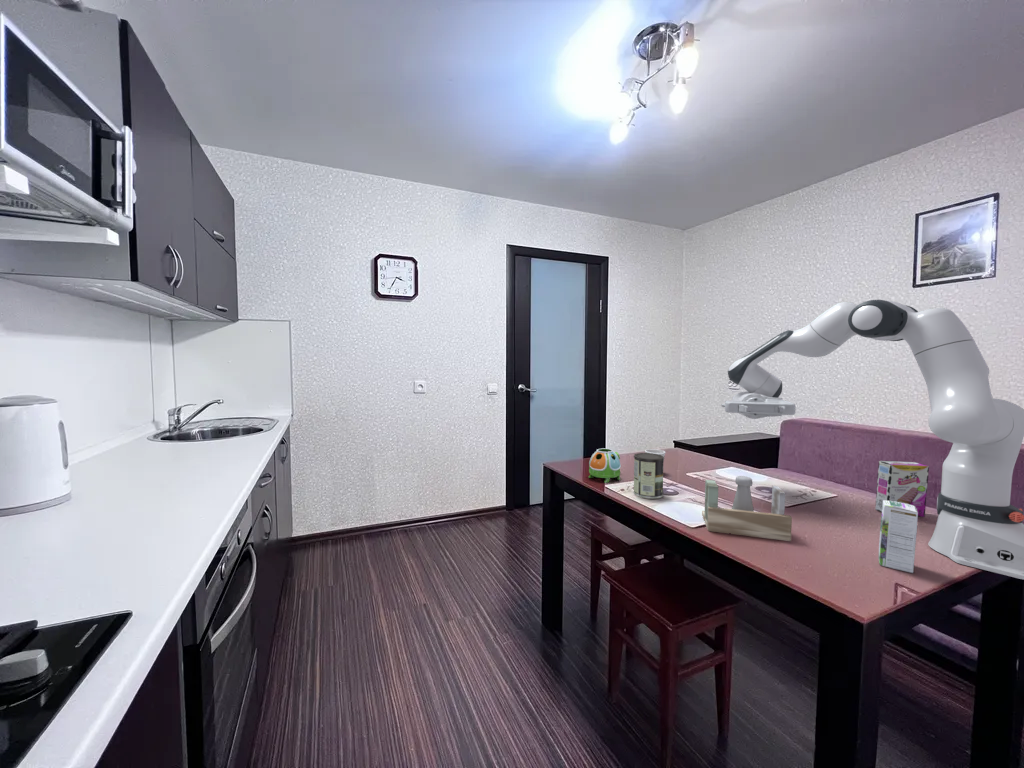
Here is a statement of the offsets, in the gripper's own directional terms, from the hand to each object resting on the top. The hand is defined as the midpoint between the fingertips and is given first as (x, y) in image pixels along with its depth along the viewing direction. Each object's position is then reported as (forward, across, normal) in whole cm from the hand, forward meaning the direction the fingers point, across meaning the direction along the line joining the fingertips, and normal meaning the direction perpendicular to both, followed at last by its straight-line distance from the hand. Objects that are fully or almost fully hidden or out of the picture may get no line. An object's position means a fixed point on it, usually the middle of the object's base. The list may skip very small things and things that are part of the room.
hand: (765, 409), depth 124 cm
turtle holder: (-22, -51, +33) cm, 64 cm away
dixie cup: (-34, -31, +32) cm, 57 cm away
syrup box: (+29, +20, +33) cm, 48 cm away
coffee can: (-6, -35, +33) cm, 48 cm away
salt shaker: (+16, -9, +31) cm, 36 cm away
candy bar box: (-12, +41, +33) cm, 54 cm away
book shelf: (+16, -9, +33) cm, 38 cm away
